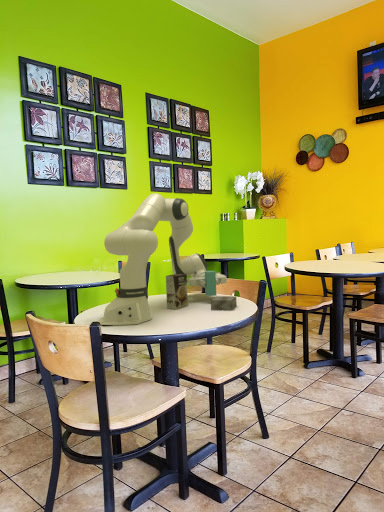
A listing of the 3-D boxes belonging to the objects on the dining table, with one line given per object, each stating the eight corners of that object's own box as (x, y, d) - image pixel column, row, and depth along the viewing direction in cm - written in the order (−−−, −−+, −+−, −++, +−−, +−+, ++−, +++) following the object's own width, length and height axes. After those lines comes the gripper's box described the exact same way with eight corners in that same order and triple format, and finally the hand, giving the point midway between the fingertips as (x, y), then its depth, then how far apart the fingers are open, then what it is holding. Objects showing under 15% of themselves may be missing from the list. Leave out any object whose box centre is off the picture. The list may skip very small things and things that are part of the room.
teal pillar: (207, 296, 198) (206, 272, 197) (205, 294, 202) (204, 271, 201) (216, 295, 199) (215, 271, 198) (214, 294, 203) (213, 270, 202)
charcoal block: (211, 310, 184) (210, 300, 183) (216, 306, 193) (216, 296, 193) (232, 311, 181) (231, 300, 180) (236, 306, 190) (236, 296, 190)
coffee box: (177, 309, 189) (175, 276, 188) (166, 308, 193) (164, 275, 192) (188, 306, 196) (187, 273, 195) (178, 305, 200) (176, 273, 199)
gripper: (185, 274, 210) (190, 277, 197) (222, 272, 215) (229, 274, 201) (185, 286, 211) (191, 290, 197) (222, 283, 215) (230, 287, 202)
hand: (210, 282), depth 199 cm, fingers closed on teal pillar, 4 cm apart
